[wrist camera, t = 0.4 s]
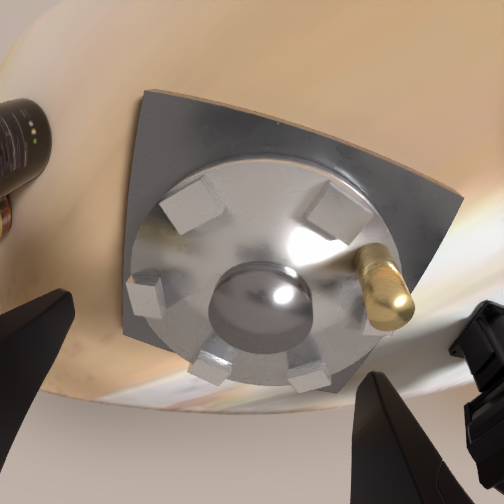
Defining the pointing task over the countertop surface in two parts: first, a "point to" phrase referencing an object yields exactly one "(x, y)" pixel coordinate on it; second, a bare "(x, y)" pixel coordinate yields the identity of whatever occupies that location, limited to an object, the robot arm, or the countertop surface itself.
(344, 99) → the countertop surface
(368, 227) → the lugged silver disc
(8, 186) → the supplement bottle
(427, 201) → the flat gray square plate
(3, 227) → the sauce bottle
